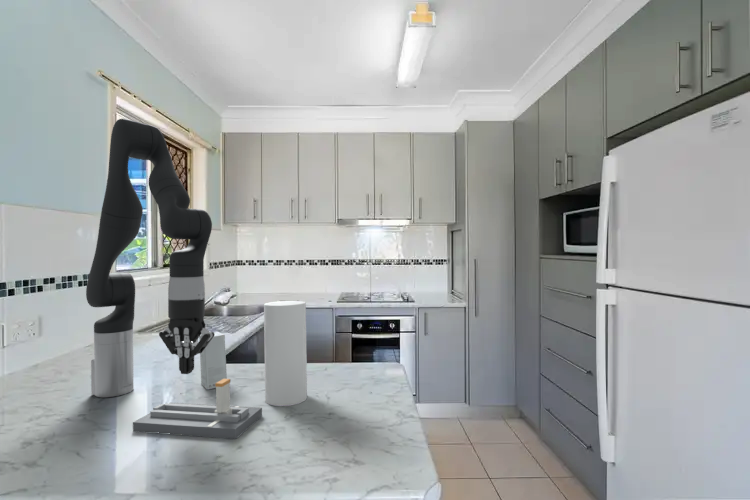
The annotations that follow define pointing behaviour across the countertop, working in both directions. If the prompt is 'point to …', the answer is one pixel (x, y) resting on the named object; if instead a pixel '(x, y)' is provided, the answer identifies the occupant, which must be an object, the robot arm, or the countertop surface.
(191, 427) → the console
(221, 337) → the skincare box
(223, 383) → the fader tab
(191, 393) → the countertop surface
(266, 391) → the tall pillar cylinder
